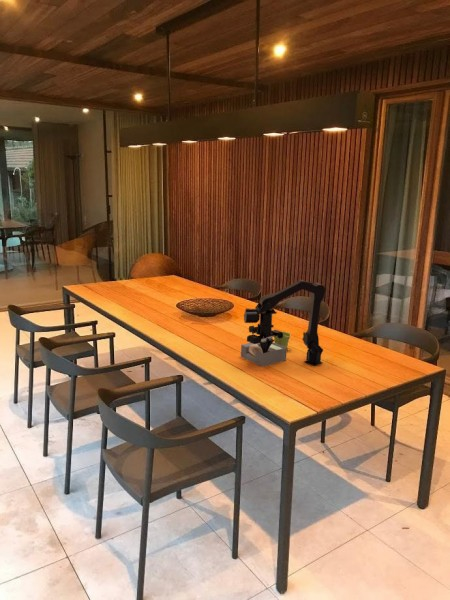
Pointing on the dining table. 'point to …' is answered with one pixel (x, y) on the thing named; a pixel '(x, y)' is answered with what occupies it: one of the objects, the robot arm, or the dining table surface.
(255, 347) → the maple block
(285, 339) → the plant pot
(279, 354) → the jig board
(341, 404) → the dining table surface
